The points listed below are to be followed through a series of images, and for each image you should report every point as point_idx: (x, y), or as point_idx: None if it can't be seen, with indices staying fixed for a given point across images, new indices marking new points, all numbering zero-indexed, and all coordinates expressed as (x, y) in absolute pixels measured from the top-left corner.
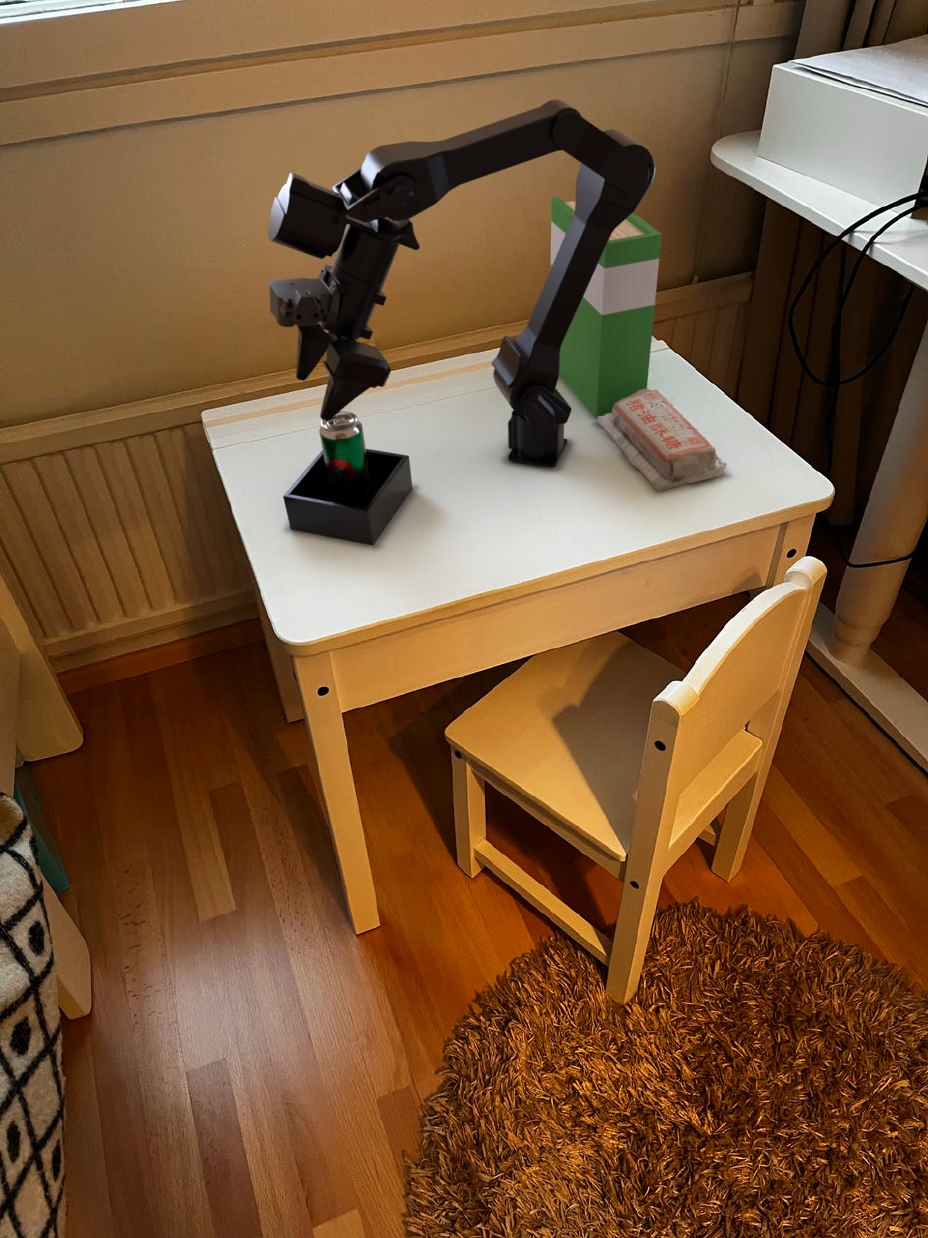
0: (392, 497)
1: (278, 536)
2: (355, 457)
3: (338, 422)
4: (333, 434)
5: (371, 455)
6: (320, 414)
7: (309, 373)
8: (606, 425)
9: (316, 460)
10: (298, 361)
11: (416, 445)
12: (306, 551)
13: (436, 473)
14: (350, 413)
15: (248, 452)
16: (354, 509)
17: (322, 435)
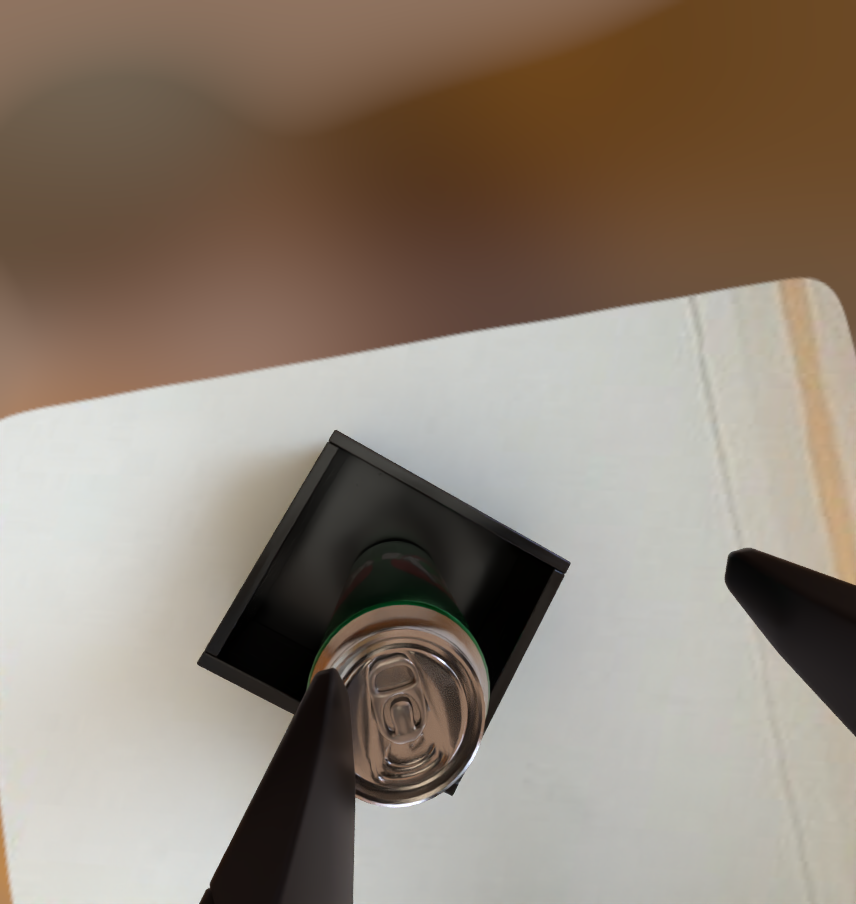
0: None
1: (328, 412)
2: None
3: (391, 710)
4: None
5: (491, 677)
6: (327, 679)
7: (761, 628)
8: None
9: (487, 526)
10: (849, 605)
11: (612, 744)
12: (258, 471)
13: (487, 786)
14: (456, 768)
15: (660, 353)
16: (219, 625)
17: (358, 615)
